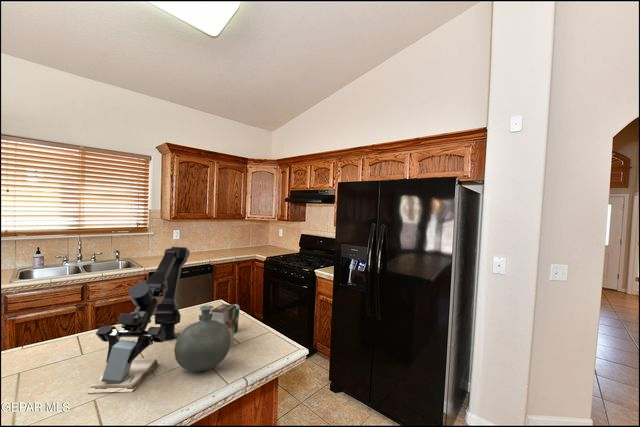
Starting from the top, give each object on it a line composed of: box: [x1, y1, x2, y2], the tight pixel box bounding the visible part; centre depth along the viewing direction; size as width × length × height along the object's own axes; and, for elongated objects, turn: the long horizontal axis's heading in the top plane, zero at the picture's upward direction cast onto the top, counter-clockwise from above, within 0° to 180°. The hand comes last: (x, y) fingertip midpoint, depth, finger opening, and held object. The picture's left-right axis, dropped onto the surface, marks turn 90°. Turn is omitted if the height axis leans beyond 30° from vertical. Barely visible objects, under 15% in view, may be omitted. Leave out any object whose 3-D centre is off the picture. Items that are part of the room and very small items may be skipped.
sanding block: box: [101, 339, 137, 384], centre depth 78 cm, size 5×5×10 cm
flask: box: [174, 304, 232, 373], centre depth 89 cm, size 12×17×22 cm
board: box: [89, 358, 159, 389], centre depth 82 cm, size 16×12×2 cm
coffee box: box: [210, 303, 237, 346], centre depth 106 cm, size 9×6×16 cm
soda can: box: [234, 304, 241, 334], centre depth 121 cm, size 5×5×12 cm
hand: (118, 363), depth 76 cm, fingers closed on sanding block, 5 cm apart
